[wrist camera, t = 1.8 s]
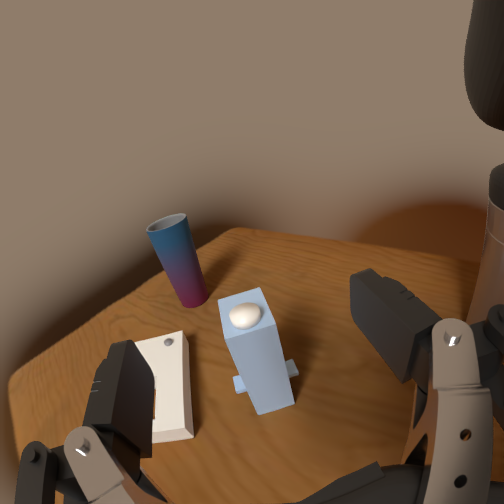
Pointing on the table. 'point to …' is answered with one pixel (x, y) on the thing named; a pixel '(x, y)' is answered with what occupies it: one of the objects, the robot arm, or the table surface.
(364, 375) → the table surface
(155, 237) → the cup
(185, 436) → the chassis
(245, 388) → the block
